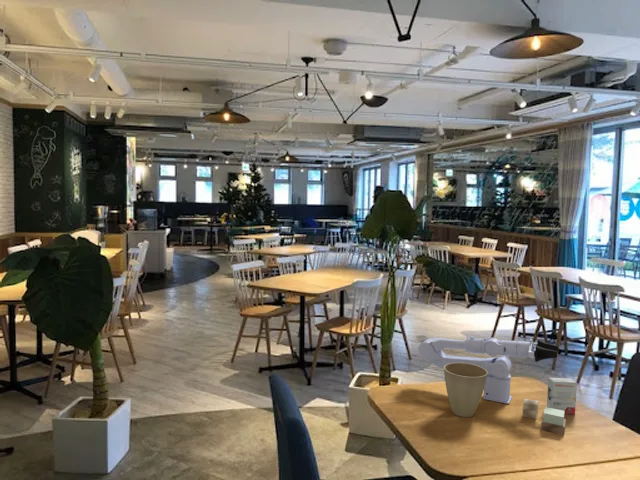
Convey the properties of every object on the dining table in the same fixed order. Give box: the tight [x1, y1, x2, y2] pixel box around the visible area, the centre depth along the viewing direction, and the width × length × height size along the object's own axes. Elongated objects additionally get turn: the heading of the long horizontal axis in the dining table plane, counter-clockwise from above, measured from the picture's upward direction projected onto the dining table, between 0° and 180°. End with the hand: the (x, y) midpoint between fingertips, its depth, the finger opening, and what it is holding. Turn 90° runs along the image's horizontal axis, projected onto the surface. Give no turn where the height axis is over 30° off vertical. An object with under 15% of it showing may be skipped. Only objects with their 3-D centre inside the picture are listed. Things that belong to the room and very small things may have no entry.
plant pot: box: [443, 363, 488, 418], centre depth 180 cm, size 15×15×16 cm
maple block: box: [522, 398, 539, 420], centre depth 181 cm, size 4×4×5 cm
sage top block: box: [542, 406, 565, 426], centre depth 171 cm, size 6×6×3 cm
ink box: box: [546, 377, 578, 415], centre depth 185 cm, size 9×5×12 cm, turn 84°
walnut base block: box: [540, 414, 567, 436], centre depth 171 cm, size 7×7×3 cm
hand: (557, 351), depth 185 cm, fingers open, 7 cm apart
